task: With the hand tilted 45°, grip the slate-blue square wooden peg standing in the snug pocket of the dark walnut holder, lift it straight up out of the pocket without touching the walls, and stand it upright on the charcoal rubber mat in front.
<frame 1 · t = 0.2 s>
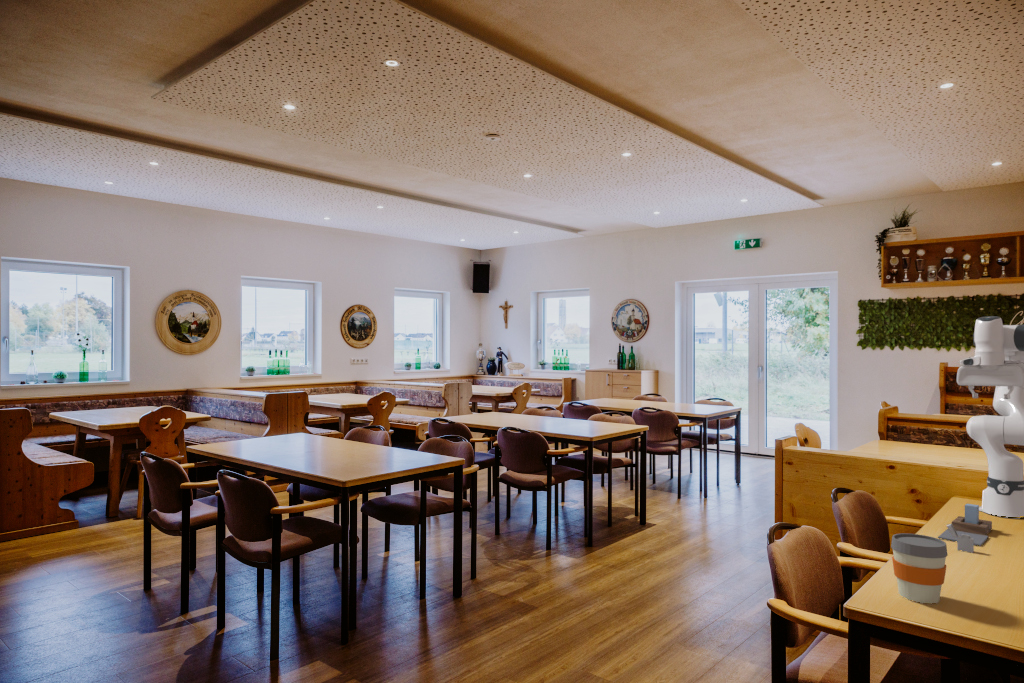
hand: (991, 398, 232), 48 cm above the table, tool pointing down, fingers open, 8 cm apart
peg: (971, 517, 231), in the pocket holder
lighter: (960, 550, 207), on the table
rubber mat: (963, 538, 220), on the table
reusable coffee cup: (918, 597, 167), on the table
pocket holder: (971, 530, 231), on the table
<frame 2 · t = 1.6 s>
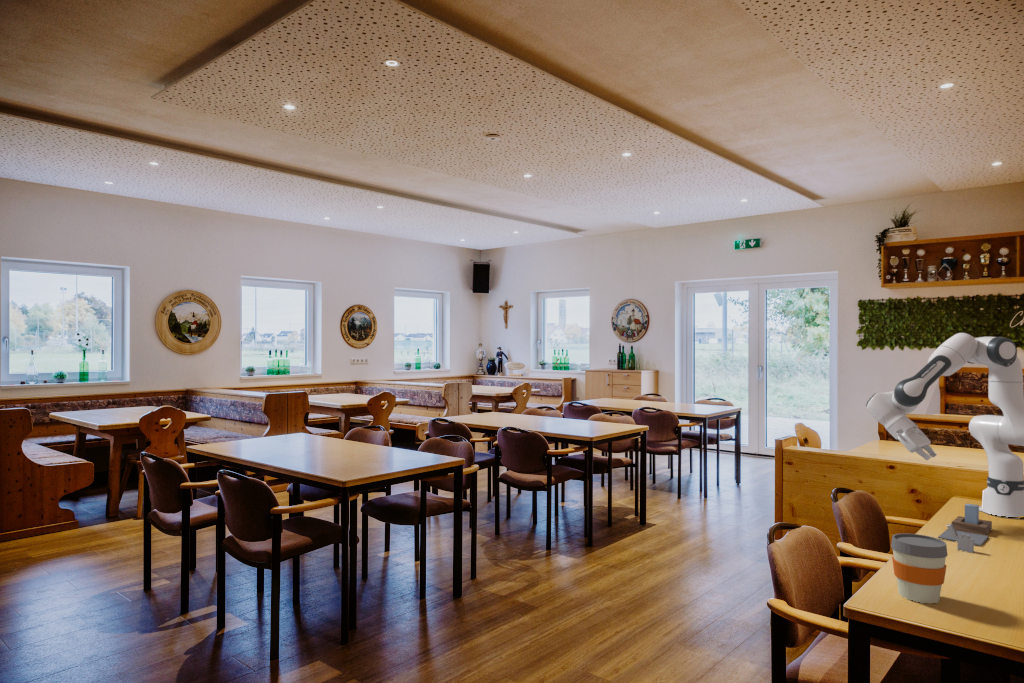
hand: (932, 457, 239), 25 cm above the table, tool tilted 45°, fingers open, 8 cm apart
nothing on the table moved.
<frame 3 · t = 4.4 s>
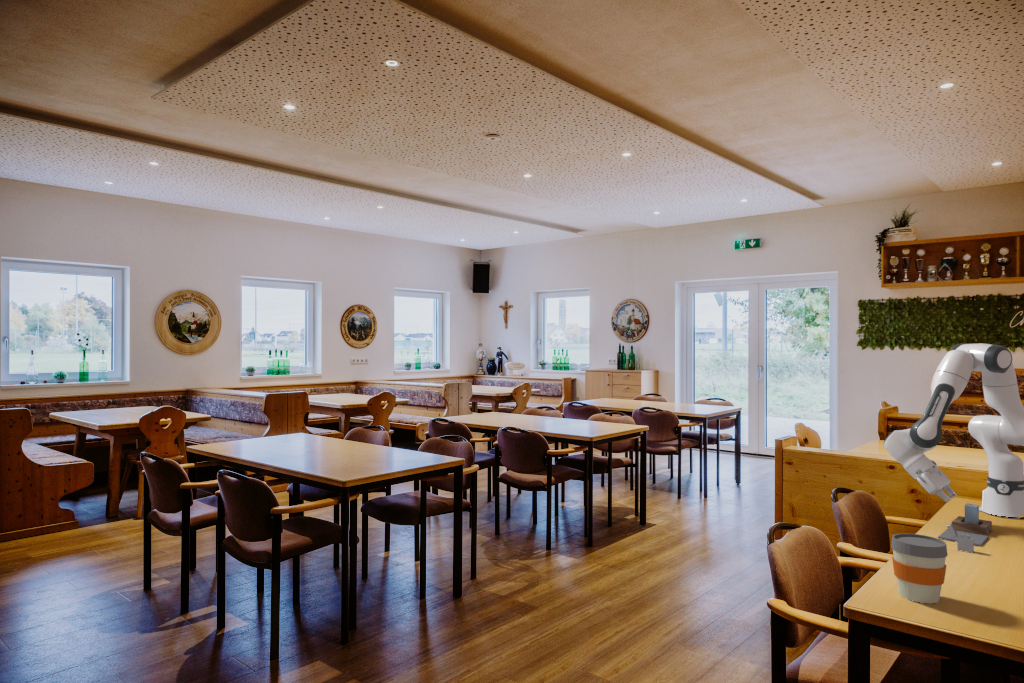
hand: (952, 499, 235), 10 cm above the table, tool tilted 45°, fingers open, 8 cm apart
nothing on the table moved.
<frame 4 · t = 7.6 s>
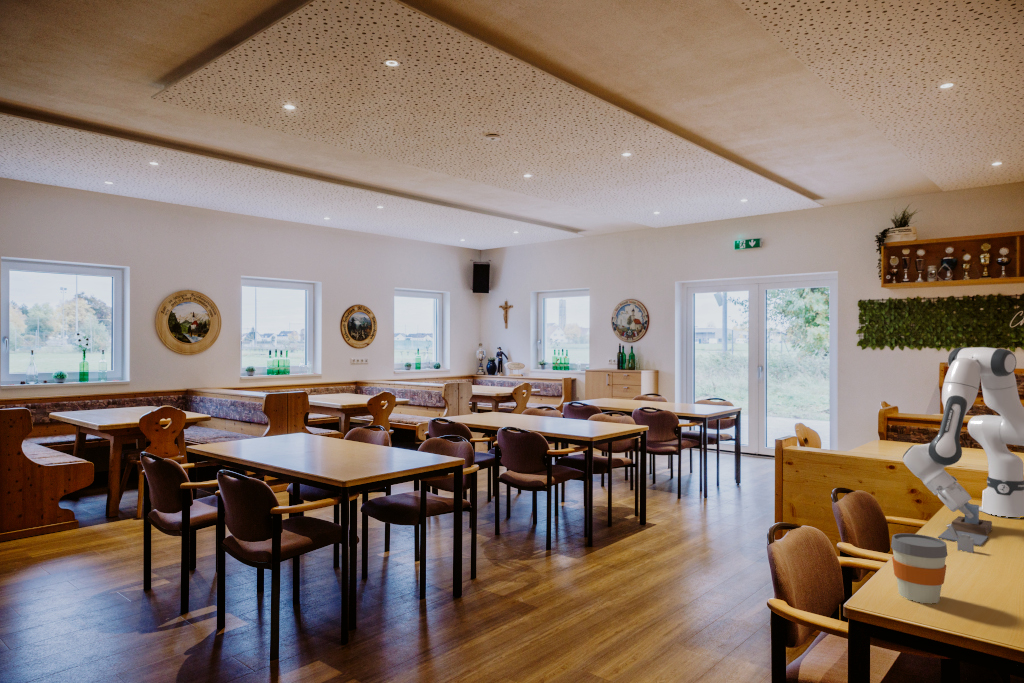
hand: (973, 516, 230), 5 cm above the table, tool tilted 45°, fingers closed on peg, 4 cm apart
peg: (971, 517, 231), in the pocket holder, touching gripper
everything else where it was.
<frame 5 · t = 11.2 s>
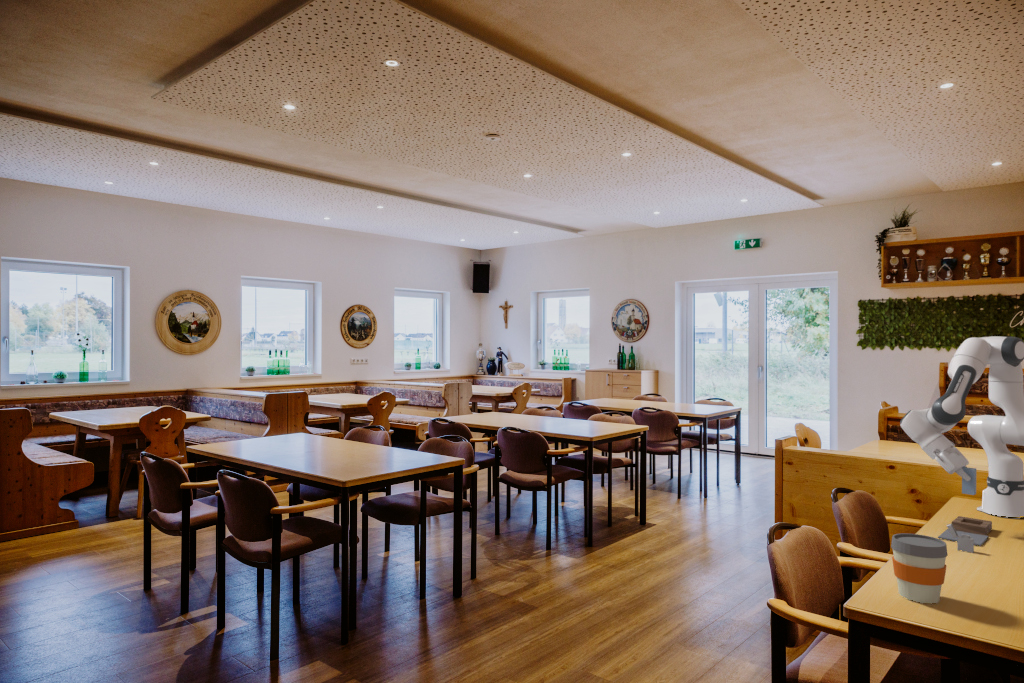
hand: (971, 479, 228), 19 cm above the table, tool tilted 45°, fingers closed on peg, 4 cm apart
peg: (969, 480, 229), point 18 cm above the table, touching gripper
everything else where it was.
when the fingers open (7 cm above the table, at t = 14.9 s): peg drops 1 cm, resting on rubber mat.
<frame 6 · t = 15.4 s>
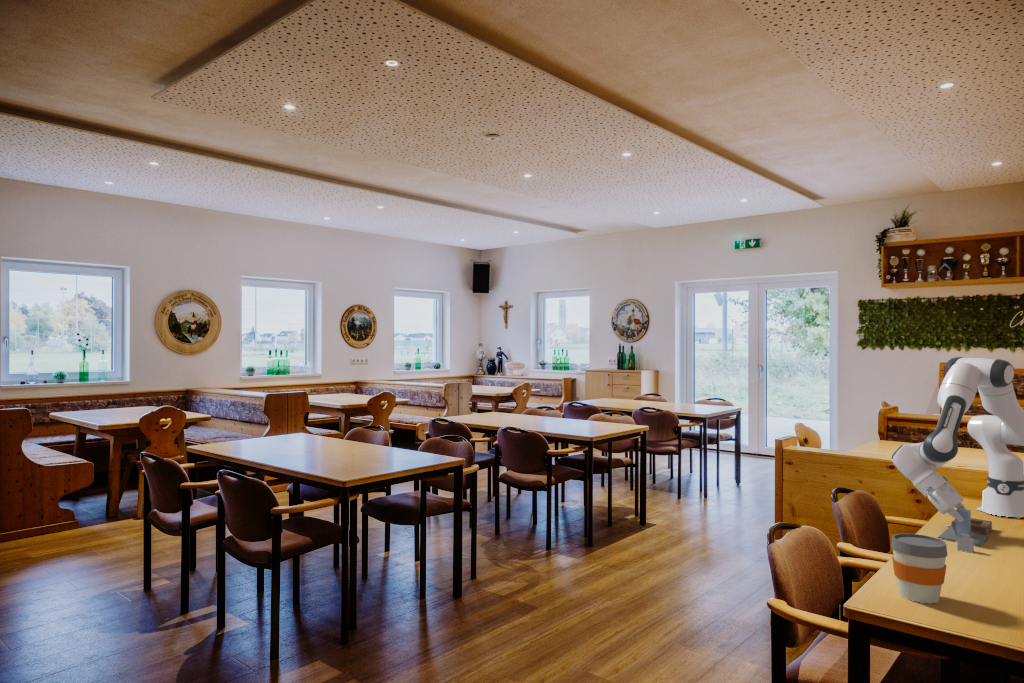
hand: (965, 518, 220), 7 cm above the table, tool tilted 45°, fingers open, 8 cm apart
peg: (963, 523, 220), on the rubber mat, point 5 cm above the table
everything else where it was.
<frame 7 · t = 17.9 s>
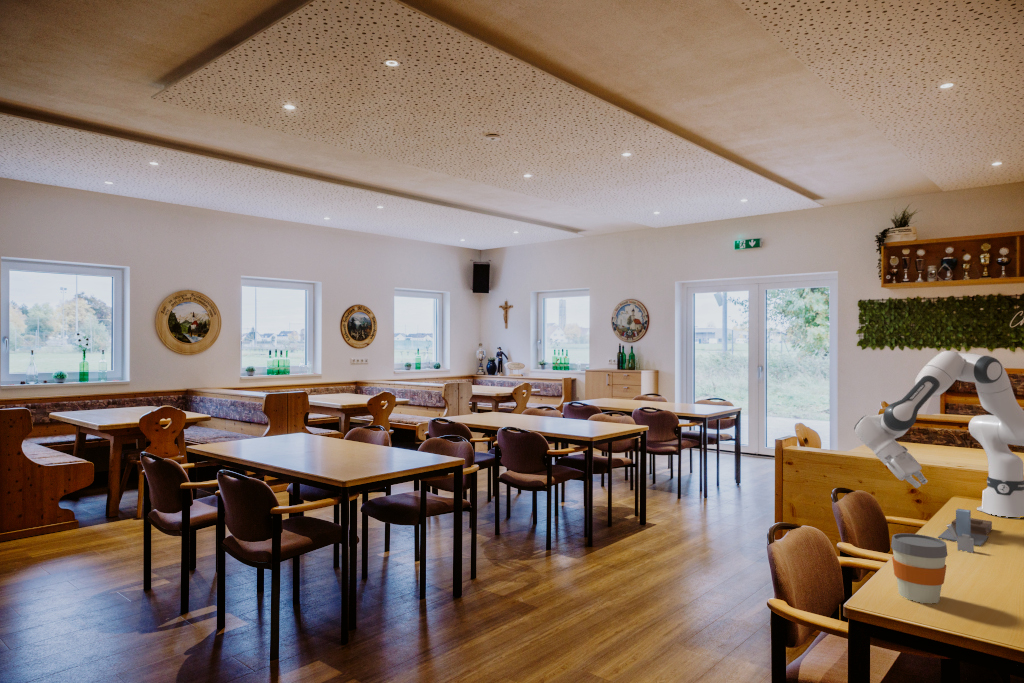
hand: (922, 484, 229), 16 cm above the table, tool tilted 45°, fingers open, 8 cm apart
nothing on the table moved.
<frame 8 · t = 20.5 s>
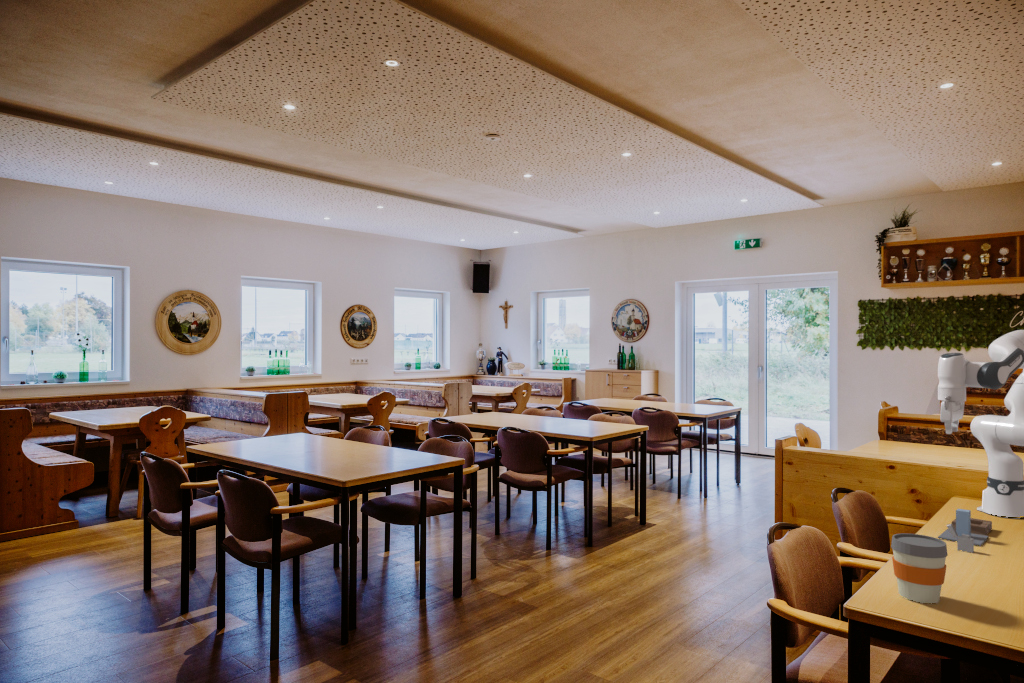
hand: (951, 432, 239), 34 cm above the table, tool pointing down, fingers open, 8 cm apart
nothing on the table moved.
at the end: peg inside the target area on the rubber mat (0.1 cm from its centre), point 5.1 cm above the rubber mat's base; peg tilted 0°; the gripper is holding nothing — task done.
